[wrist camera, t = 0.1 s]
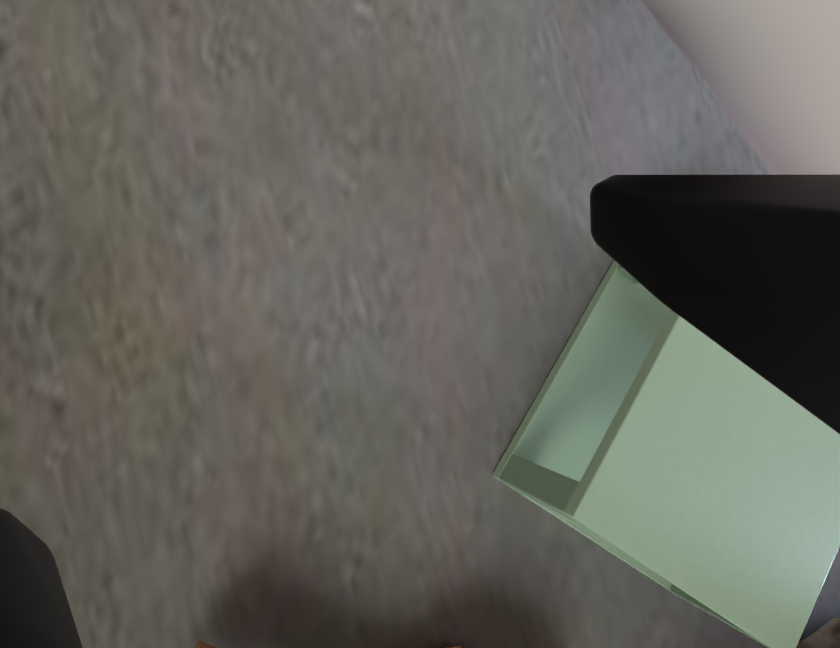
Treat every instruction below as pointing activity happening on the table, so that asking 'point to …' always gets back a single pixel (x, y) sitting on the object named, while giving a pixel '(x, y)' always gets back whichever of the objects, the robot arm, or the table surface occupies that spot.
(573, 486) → the shelf
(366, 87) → the table surface
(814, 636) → the candle
